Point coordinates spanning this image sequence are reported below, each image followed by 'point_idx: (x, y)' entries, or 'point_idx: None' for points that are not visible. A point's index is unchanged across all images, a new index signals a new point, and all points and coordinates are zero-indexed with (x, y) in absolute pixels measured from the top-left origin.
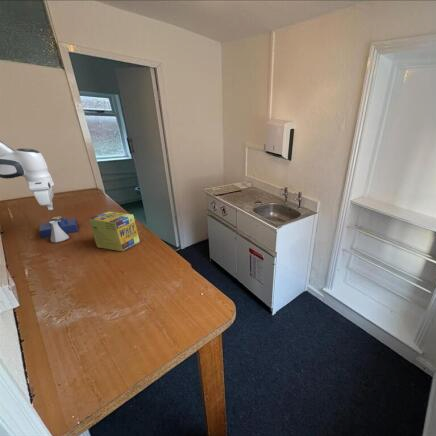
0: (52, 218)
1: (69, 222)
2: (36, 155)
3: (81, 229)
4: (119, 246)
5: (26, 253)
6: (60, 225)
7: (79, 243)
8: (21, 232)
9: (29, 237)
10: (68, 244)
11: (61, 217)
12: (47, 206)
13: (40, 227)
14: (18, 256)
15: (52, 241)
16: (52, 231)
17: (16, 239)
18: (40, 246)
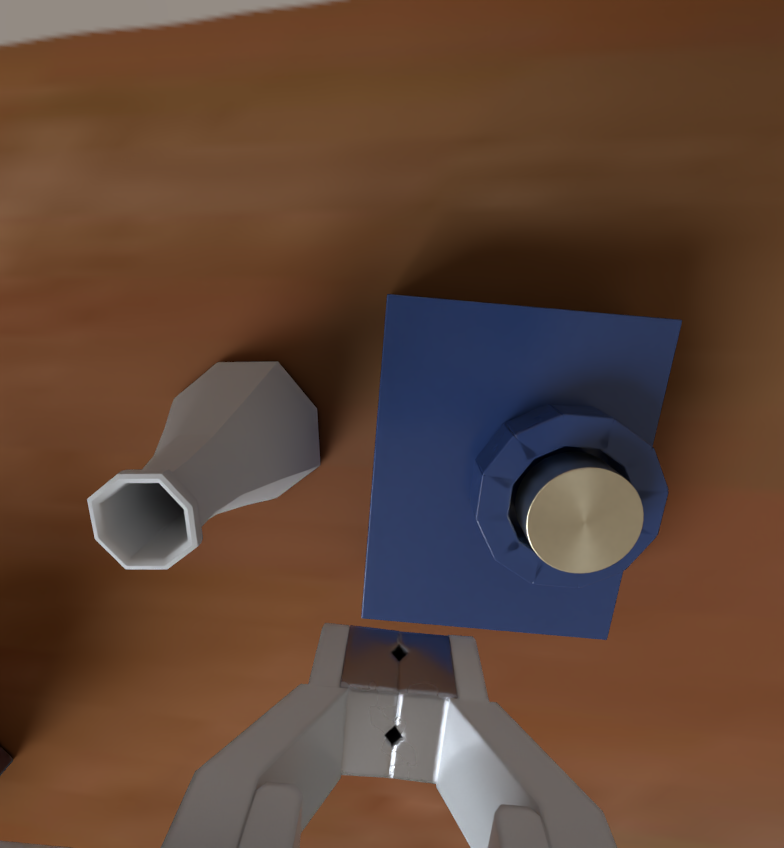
0: (588, 475)
1: (483, 578)
2: None
3: None
4: None
5: (49, 168)
6: (440, 496)
7: (50, 548)
8: (768, 95)
9: (512, 181)
10: (76, 478)
11: (556, 567)
12: (285, 709)
13: (526, 307)
14: (9, 104)
15: (202, 376)
16: (175, 430)
17: (545, 57)
18: (165, 278)
